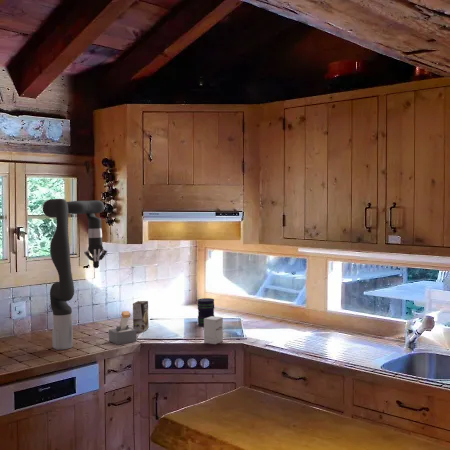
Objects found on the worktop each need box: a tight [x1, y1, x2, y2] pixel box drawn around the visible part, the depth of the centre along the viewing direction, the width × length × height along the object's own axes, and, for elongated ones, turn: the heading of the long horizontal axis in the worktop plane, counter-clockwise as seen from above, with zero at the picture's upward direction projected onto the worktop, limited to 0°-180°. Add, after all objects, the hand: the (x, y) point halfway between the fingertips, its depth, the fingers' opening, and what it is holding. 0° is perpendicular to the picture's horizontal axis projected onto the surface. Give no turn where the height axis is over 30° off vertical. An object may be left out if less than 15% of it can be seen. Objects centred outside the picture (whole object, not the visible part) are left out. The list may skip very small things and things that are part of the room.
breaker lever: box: [118, 310, 131, 330], centre depth 291 cm, size 3×4×11 cm
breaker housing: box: [108, 324, 138, 346], centre depth 293 cm, size 10×11×8 cm
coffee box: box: [132, 300, 150, 333], centre depth 317 cm, size 9×6×16 cm
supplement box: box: [203, 315, 224, 345], centre depth 288 cm, size 7×7×13 cm
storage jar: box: [197, 297, 215, 328], centre depth 327 cm, size 10×10×15 cm
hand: (96, 267), depth 308 cm, fingers closed
